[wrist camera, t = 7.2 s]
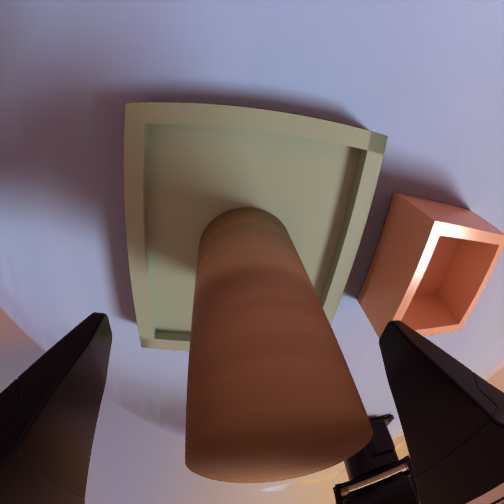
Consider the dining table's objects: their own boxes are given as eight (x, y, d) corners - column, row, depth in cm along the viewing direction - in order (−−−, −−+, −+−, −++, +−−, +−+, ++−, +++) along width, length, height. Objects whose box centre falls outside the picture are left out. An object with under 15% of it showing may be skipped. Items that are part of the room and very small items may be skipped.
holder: (434, 297, 17) (460, 330, 14) (356, 299, 16) (380, 341, 13) (470, 210, 14) (507, 236, 11) (393, 191, 13) (434, 220, 10)
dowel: (281, 289, 14) (334, 472, 6) (197, 285, 13) (189, 483, 5) (298, 211, 12) (407, 403, 4) (201, 203, 11) (177, 425, 4)
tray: (312, 332, 17) (319, 351, 16) (146, 327, 16) (141, 347, 14) (369, 130, 11) (387, 136, 10) (137, 102, 10) (125, 103, 8)
